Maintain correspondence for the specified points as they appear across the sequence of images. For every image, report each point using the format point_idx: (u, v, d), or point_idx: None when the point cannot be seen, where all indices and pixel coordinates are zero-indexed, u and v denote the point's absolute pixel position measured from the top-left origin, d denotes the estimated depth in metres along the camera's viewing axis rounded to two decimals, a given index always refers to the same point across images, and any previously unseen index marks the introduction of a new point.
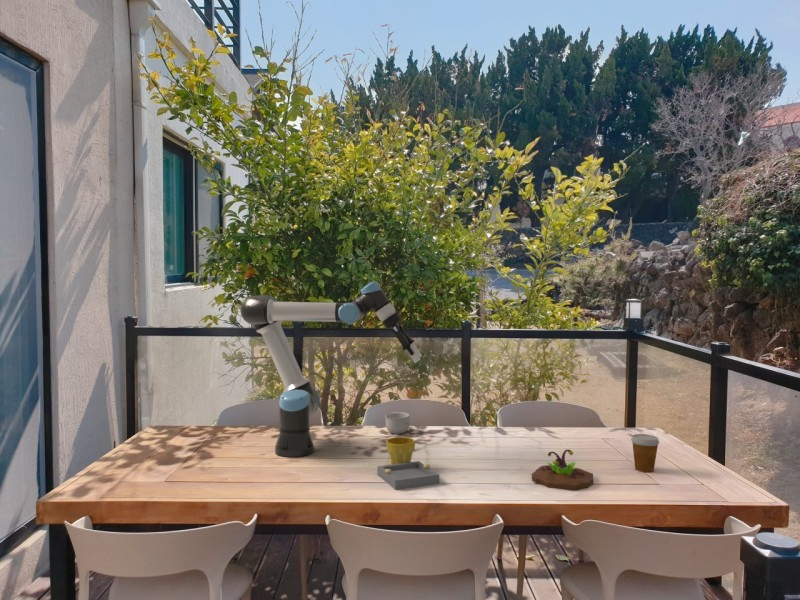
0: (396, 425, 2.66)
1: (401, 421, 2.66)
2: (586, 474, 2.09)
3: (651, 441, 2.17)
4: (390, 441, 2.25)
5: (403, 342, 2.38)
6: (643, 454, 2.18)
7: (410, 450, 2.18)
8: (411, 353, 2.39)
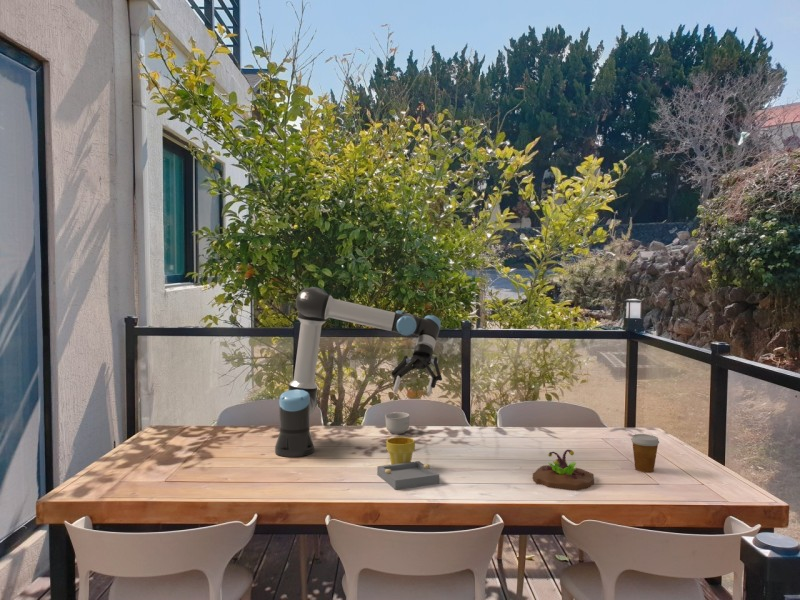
0: (396, 425, 2.66)
1: (401, 421, 2.66)
2: (587, 474, 2.09)
3: (651, 441, 2.17)
4: (390, 441, 2.25)
5: None
6: (643, 454, 2.18)
7: (410, 450, 2.18)
8: (434, 385, 2.30)
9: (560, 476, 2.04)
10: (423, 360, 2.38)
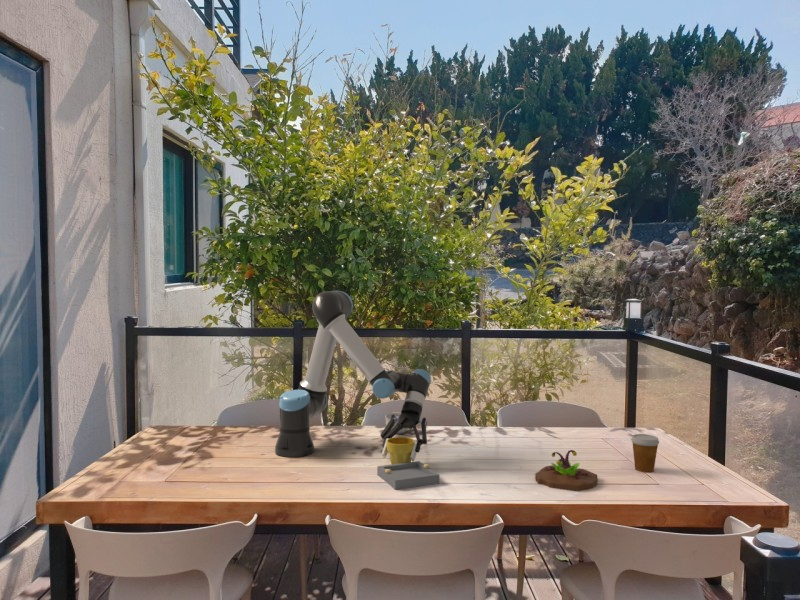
0: None
1: None
2: (590, 475, 2.08)
3: (651, 441, 2.17)
4: (390, 441, 2.24)
5: (425, 437, 2.22)
6: (643, 454, 2.18)
7: (410, 450, 2.18)
8: (418, 449, 2.19)
9: (562, 476, 2.04)
10: (411, 419, 2.27)
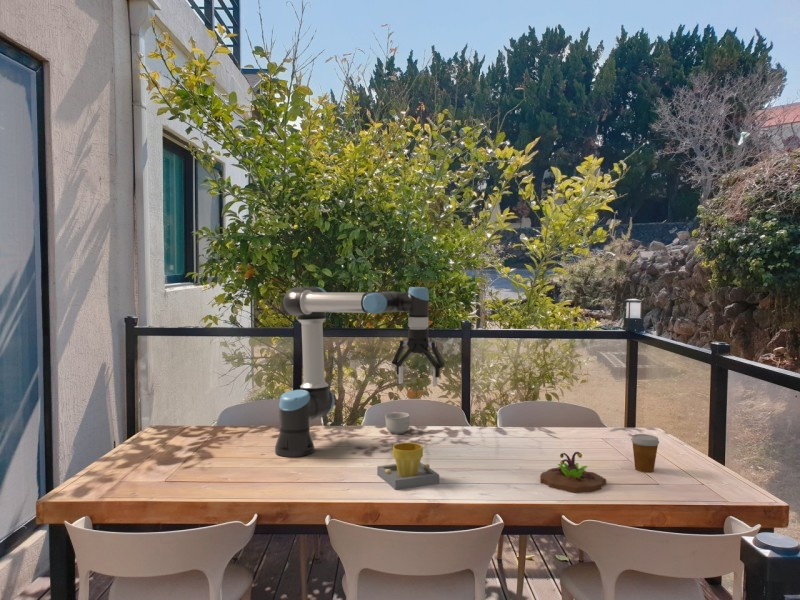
0: (396, 425, 2.66)
1: (401, 421, 2.66)
2: (596, 479, 2.04)
3: (651, 441, 2.17)
4: (396, 447, 2.11)
5: (441, 361, 2.25)
6: (643, 454, 2.18)
7: (418, 457, 2.05)
8: (438, 375, 2.26)
9: (564, 477, 2.03)
10: (421, 348, 2.26)
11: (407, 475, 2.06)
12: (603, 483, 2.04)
